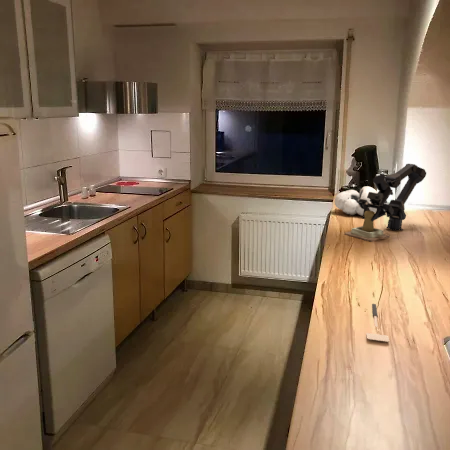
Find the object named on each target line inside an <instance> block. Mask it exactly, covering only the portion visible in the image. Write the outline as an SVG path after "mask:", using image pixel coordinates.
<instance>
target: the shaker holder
mask: <svg viewBox="0 0 450 450" xmlns="http://www.w3.org/2000/svg"><path fill="white" fill-rule="evenodd" d="M362 228H363V225H362V226H357V227H353V228H351V229H350V231H347V232H344V235H346V236H349V237H352V238H356V239H360V240H364V241H368V242H375V241H379V240H383V239H387V238H390V235H388V234H385V233H384V229H381V228H380V229H379V228H375V227H374V232H366V231H362Z"/></svg>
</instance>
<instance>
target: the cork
mask: <svg viewBox="0 0 450 450" xmlns="http://www.w3.org/2000/svg"><path fill="white" fill-rule="evenodd" d="M375 213H376V212H375ZM375 213H374V212H373V211H365V213H364V216H365V219H363V225H362V226H363V228H362V231H366V232H374V228H375V227H374V221H371V219H372V217H373V216H374V214H375Z"/></svg>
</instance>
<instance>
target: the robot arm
mask: <svg viewBox="0 0 450 450" xmlns="http://www.w3.org/2000/svg"><path fill="white" fill-rule="evenodd" d="M426 176H427V171H426V169H424V168H422V167H420V166H418V165H417V164H414V163H406V164H405V166H403V167H401V168H400V169H399V170H397V172H395V173H391V174H388V175H386V176H385V174H384V173H380V174H379V175H376V176H375V177H374V178H372V182H373V184H374V187H375V188H376V190H378V191H377V193H373V192H369V193H368V196H367V198H369V199H370V202H371V203H368V201H367V200H365V199H359V201H358V204H359V205H360V207H361V208H362V209H364V212H363V216H362V217H361V219H362V220H364V219H365V216H364V213H365V211H370V207H371V208H375V209H377V211H376V212H375V214H374V216H373V217H372V219H371V221H373V222H374V221H376V220H377V219H379V218H381V217H383V216H386V218H388V220H387V226H386V229H388V230H391V231H403V230H404V229H403V228H402V225H403V221H405V220H406V217H407V214H406V212H405V208H406V207H405V204H406V203H407V200H408V199H409V197H410V196H411V194H412V192H413V191H414V189H415V187H416V185H417V184H420V183H422V181H423V180H425V178H426ZM405 178H408V179H407V181H406V182H405V184H404V186H403V187H402V189H401V190H400V193H399V194H398V195H397V197H396V199H395V200H394V199H390V201H389V203H388V198H389V197H390V196H393V195H394V193H393V189H397V188H398V187H399V186H400V185H401V182H402V181H403V180H404V179H405ZM387 203H388V204H387Z"/></svg>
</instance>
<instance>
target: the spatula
mask: <svg viewBox="0 0 450 450" xmlns="http://www.w3.org/2000/svg"><path fill="white" fill-rule="evenodd" d="M371 308H372V317H373V319H374V322H373V323H374V328H375V327H376V328H379V327H378V309H377V303H372V304H371ZM366 338H367V339H368V340H370V341H372V340H373V341H378V342H387V343H388V342H390V338H389V336H388V335H385V334H377V333H371V332H370V333H369V332H366Z"/></svg>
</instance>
